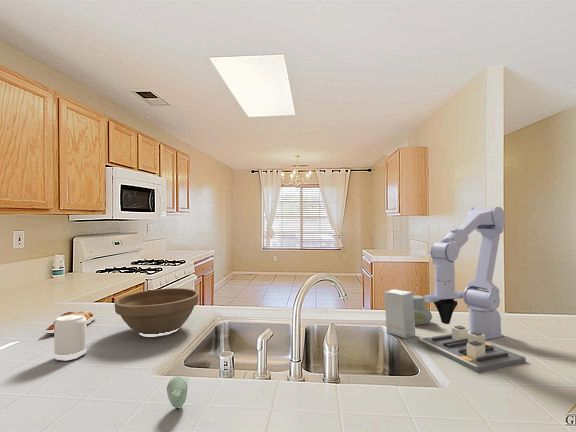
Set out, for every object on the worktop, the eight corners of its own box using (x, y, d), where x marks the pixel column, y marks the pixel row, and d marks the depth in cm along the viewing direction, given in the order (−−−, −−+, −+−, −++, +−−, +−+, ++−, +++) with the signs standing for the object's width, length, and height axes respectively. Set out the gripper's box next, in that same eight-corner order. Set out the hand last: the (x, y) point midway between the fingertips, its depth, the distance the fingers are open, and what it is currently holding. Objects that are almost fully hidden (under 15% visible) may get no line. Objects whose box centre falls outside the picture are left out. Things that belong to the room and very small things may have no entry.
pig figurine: (181, 419, 68) (181, 386, 68) (161, 420, 67) (161, 386, 68) (191, 398, 76) (191, 368, 76) (173, 398, 75) (173, 368, 76)
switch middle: (476, 343, 103) (476, 330, 103) (485, 346, 100) (484, 333, 100) (467, 344, 102) (467, 331, 102) (476, 348, 99) (476, 335, 99)
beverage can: (92, 354, 101) (92, 314, 102) (65, 364, 94) (65, 322, 94) (75, 349, 105) (75, 312, 105) (48, 359, 98) (48, 319, 98)
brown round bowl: (95, 341, 112) (95, 302, 113) (153, 317, 139) (153, 285, 140) (164, 350, 104) (164, 308, 104) (213, 322, 131) (212, 289, 131)
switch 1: (460, 336, 108) (460, 324, 108) (467, 339, 106) (467, 327, 106) (451, 338, 107) (451, 326, 107) (459, 341, 104) (459, 329, 104)
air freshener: (401, 324, 126) (400, 298, 126) (402, 318, 134) (402, 293, 134) (432, 327, 122) (431, 300, 122) (432, 321, 129) (431, 295, 129)
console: (460, 335, 113) (460, 329, 113) (525, 361, 92) (525, 354, 92) (417, 342, 107) (417, 336, 107) (476, 372, 86) (476, 364, 86)
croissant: (90, 327, 137) (83, 310, 138) (108, 317, 135) (101, 299, 136) (41, 345, 117) (33, 325, 118) (61, 334, 115) (53, 313, 116)
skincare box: (415, 335, 114) (415, 292, 114) (404, 339, 110) (403, 294, 111) (395, 328, 121) (395, 288, 121) (384, 332, 117) (383, 290, 118)
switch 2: (476, 353, 95) (475, 340, 95) (485, 357, 92) (485, 343, 92) (466, 355, 94) (466, 341, 94) (475, 359, 91) (475, 345, 91)
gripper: (452, 276, 111) (453, 316, 111) (417, 279, 106) (418, 322, 106) (470, 279, 104) (471, 323, 104) (433, 283, 99) (434, 329, 99)
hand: (445, 323), depth 105 cm, fingers closed
